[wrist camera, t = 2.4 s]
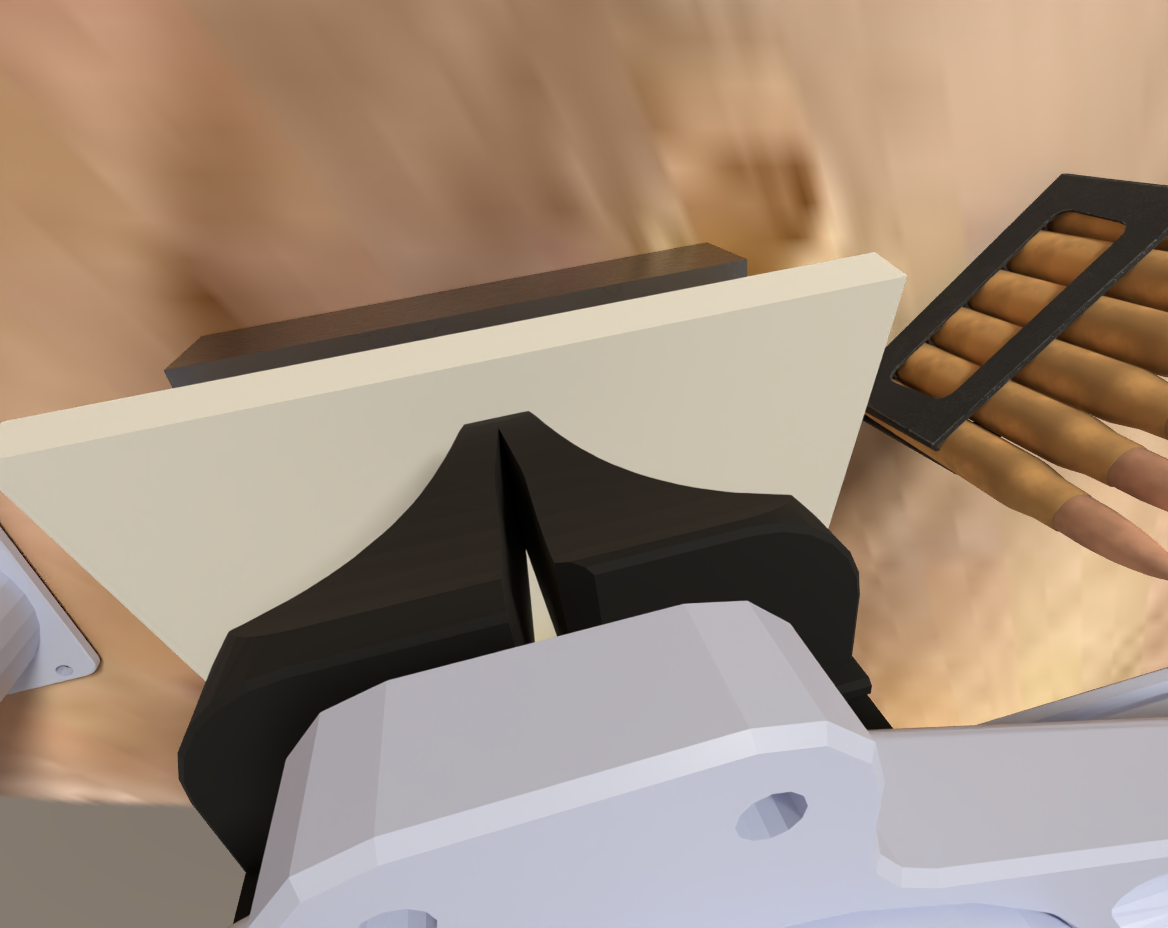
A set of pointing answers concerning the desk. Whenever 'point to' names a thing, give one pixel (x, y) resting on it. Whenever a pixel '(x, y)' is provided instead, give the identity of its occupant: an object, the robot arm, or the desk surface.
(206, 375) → the leveling base
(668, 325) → the plate
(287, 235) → the desk surface
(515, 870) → the robot arm
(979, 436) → the ammunition clip
